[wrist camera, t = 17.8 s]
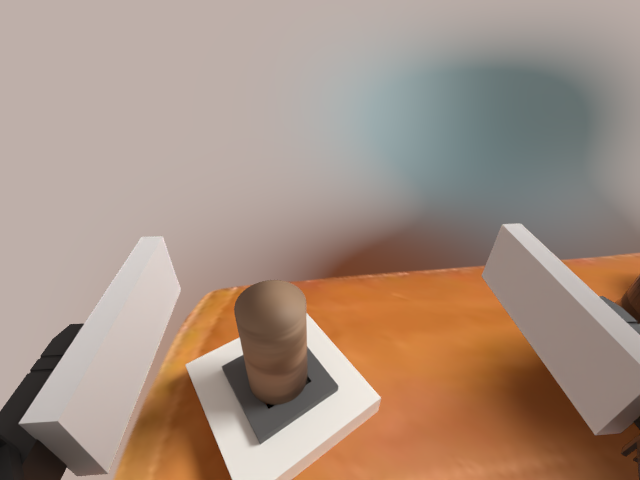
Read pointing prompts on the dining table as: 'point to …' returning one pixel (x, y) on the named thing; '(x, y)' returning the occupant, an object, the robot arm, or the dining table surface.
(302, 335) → the peg
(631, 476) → the dining table surface
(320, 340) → the frame
